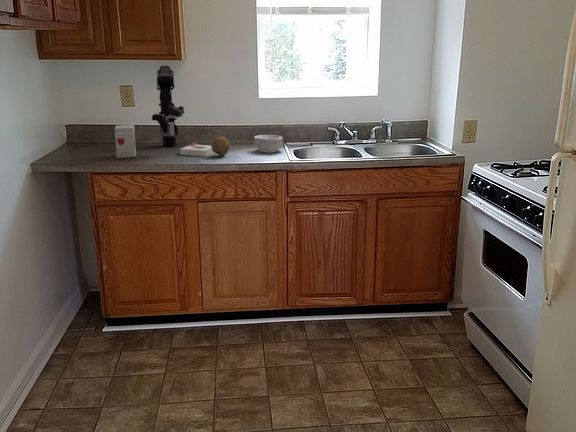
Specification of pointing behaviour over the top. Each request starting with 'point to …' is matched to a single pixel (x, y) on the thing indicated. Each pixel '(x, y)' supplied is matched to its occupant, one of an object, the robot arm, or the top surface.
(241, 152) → the top surface
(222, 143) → the natural sponge
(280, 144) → the white bowl
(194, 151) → the socket plate
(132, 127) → the supplement box
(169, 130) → the plug
